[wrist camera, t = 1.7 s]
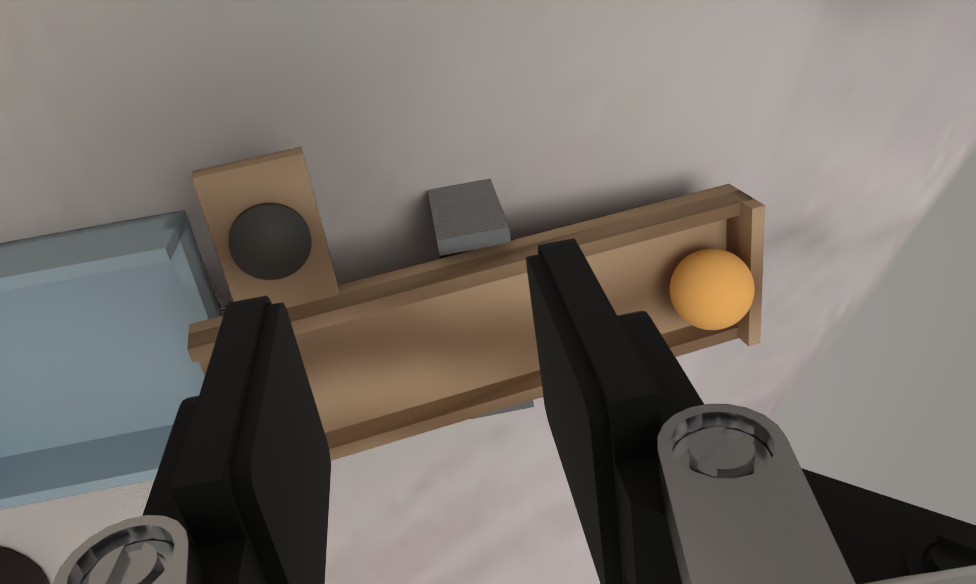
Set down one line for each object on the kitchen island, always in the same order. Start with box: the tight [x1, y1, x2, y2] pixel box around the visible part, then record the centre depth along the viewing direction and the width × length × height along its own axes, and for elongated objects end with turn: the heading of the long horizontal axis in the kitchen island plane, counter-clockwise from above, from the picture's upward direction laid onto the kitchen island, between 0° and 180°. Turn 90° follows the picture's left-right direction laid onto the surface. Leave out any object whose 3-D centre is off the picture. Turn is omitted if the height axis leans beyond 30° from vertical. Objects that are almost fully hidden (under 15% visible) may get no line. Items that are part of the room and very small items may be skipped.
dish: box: [0, 210, 222, 510], centre depth 37 cm, size 12×14×4 cm
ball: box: [670, 248, 755, 330], centre depth 35 cm, size 4×4×4 cm
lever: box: [187, 147, 765, 460], centre depth 34 cm, size 13×24×4 cm, turn 98°
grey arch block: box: [428, 179, 534, 419], centre depth 37 cm, size 9×3×6 cm, turn 8°
